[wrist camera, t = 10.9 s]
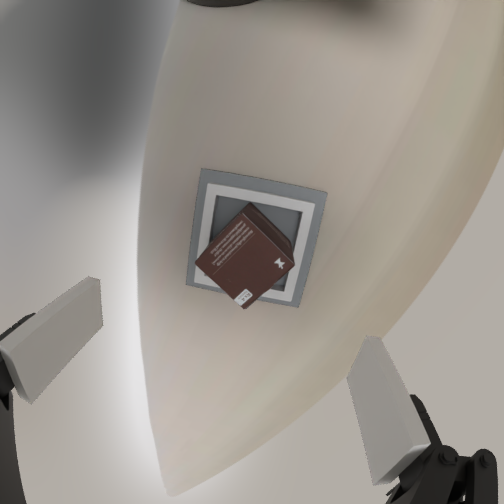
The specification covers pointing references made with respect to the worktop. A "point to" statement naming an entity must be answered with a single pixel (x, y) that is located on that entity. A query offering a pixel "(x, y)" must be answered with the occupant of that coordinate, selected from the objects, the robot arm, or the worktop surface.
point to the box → (247, 256)
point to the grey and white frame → (274, 208)
